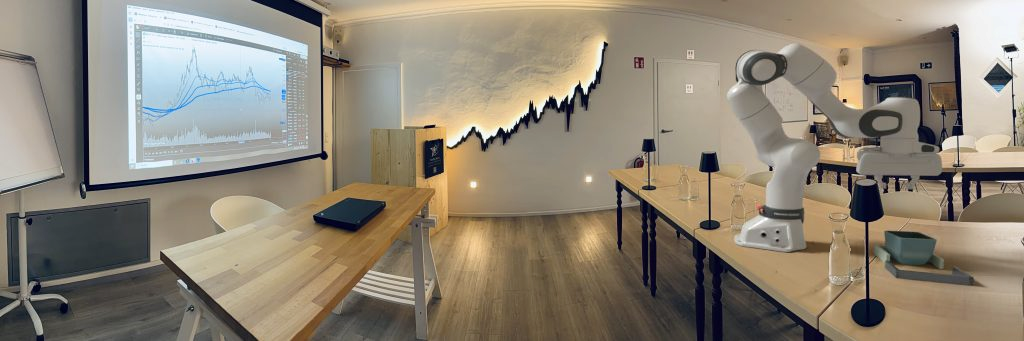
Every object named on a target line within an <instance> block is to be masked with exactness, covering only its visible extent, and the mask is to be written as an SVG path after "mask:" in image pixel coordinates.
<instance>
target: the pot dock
mask: <svg viewBox="0 0 1024 341" xmlns="http://www.w3.org/2000/svg"><path fill="white" fill-rule="evenodd" d="M884 269H885V270H887V271H888V273H890V274H891V275H892V276H893V277H895V278H896V279H904V280H911V281H912V280H913V281H921V282H922V281H923V282H931V283H939V284H940V283H941V284H950V285H951V284H952V285H961V286H962V285H963V286H969V287H970V286H972V287H973V286H974V277H973V276H972V275H970V274H968V273H967V272H966V271H964V270H962V269H961V268H959V267H958V266H952V270H951V274H950V273H949V274H948V273H938V272H928V271H927V272H926V271H917V270H906V269H899V268H898V267H897V266H895V265H894V264H893V263H892V262H891V260H890V261H885V263H884Z"/></svg>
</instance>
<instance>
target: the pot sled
mask: <svg viewBox="0 0 1024 341" xmlns="http://www.w3.org/2000/svg"><path fill="white" fill-rule="evenodd" d="M874 253H875V254H874ZM873 254H874V255H875V256H876V257H877V258H879V259H880V261H882V262H883V263H884V264H885V261H890V262H891V256H890V254H889V253H888V251H887V248H886V244H885V243H884V244H874V245H873ZM927 262H928V263H930V264H932V265H933V266H935V267H936V268H937V269H939V270H944V266H945V264H944V263H945V259H944V258H943V257H941V256H939V255H938V254H936V253H935V252H933V254H932V256H931V258H930V259H929V260H928V261H927Z"/></svg>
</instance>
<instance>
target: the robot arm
mask: <svg viewBox="0 0 1024 341" xmlns="http://www.w3.org/2000/svg"><path fill="white" fill-rule="evenodd" d="M837 75H838V74H837V70H835V68H834V67H833V66H832V64H831V63H829V61H828V60H826V59H824V58H823V57H822V56H821V55H820V54H818V53H817V52H815V51H814V50H812V49H811V48H809V47H807V46H805V45H803V44H801V43H797V42H796V43H795V42H794V43H791V44H787V45H786V46H783V47H782V48H780V50H779V51H777V52H776V53H775V52H770V51H766V50H761V49H752V50H748V51H746V52H744V53H743V54H741V55H740V56H739V57H738V58H737V60H736V62H735V82H737V83H735V84H734V85H733V86H731V87H730V88H729V90H728V91H727V93H726V99H727V102H728V104H729V106H730V108H731V110H732V113H734V116H736V118H737V120H738V121H739V122H740V123H741V125H742V126H743V128H744V129H745V130H746V131H747V133H748V134H749V137H750V138H751V140H752V142H753V145H754V147H755V156H756V158H757V160H759V161H760V162H761V163H763V164H764V165H766V166H769V167H773V168H774V170H773V174H772V177H771V179H770V180H768V182H767V184H766V186H765V204H764V205H762V204H757V205H756V208H757V210H758V215H755V217H752V218H751V219H749V220H748V221H746V222H744V223H743V225H742V227H741V231H740V233H738V234H735V235H734V238H733V241H734V242H735V244H736V245H738V246H740V247H747V248H753V249H762V250H769V251H776V252H783V253H791V252H794V251H800V250H805V249H807V248H808V245H807V243H806V239H805V234H804V225H803V224H804V223H805V222H804V221H805V207H803V206H804V204H803V203H804V189H805V184H806V180H807V178H808V176H809V173H810V172H811V171H812V169H813V168H814V167H816V166H817V164H818V163H819V161H820V159H821V151H820V148H819V146H817V144H815V143H813V142H812V141H809V140H806V139H803V138H794V137H793V138H792V137H789V136H788V135H786V133H785V130H784V128H783V121H784V120H783V116H781V115H780V113H779V111H777V109H776V107H775V106H774V105H773V103H772V101H771V100H769V98H768V96H767V95H766V94H765V92H764V91H763V86H765V85H768V84H770V83H772V82H774V81H775V80H777V79H779V78H783V79H785V80H786V81H787V82H788V83H790V84H791V85H792V86H793V87H794V88H795V89H797V90H798V91H799V92H800V93H802V94H803V95H804V96H805V97H806V98H807V100H808V101H810V102H809V103H811V104H812V105H813V106H814V107H815V108H816V109H817V110H818V111H819V112H820V113H821V114H822V115H824V116H825V117H826V119H827V120H828V122H829V123H830V125H831V128H832V130H833V132H834V133H835V134H836V135H838V136H839V137H841V138H846V139H850V138H851V139H853V138H854V139H856V138H860V139H866V138H867V139H876V138H880V143H879V144H880V145H879V146H878V147H877V146H872V147H863V148H860V149H858V150H857V152H856V159H857V163H856V170H855V171H856V173H858V174H859V175H861V176H874V178H875V180H876V181H877V183H878V188H879V189H883V190H885V189H887V183H886V182H883V180H882V179H883V176H910V178H911V180H910V181H909V182H906V183H905V189H907V190H914V189H915V184H916V183H917V182H918V181H919V180H920V176H923V177H925V176H926V177H927V176H930V177H931V176H933V177H935V176H936V177H938V176H939V175H940V174H942V173H943V172H942V171H943V163H942V161H943V160H942V156H941V155H940V154H938V153H939V152H940V147H939V146H937V145H935V144H929V143H927V142H921V141H919V136H920V135H919V133H918V128H919V127H920V122H921V108H920V104H919V101H918V100H917V99H916V98H914V97H909V96H908V97H907V96H890V97H887V98H885V100H883V101H881V102H880V103H877V104H875V105H874V106H871V107H868V108H852V107H849V106H848V105H846V104H845V103H843V101H841V99H839V98H838V96H836V95H835V94H834V93H833V91H832V89H831V88H832V87H833V86H834V84H835V83H836V81H837Z"/></svg>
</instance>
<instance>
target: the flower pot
mask: <svg viewBox="0 0 1024 341" xmlns="http://www.w3.org/2000/svg"><path fill="white" fill-rule="evenodd" d="M883 233H884V234H883V235H884V245H885V244H886V248H887V251H888V253H889V254H890V258H892V260H894V261H896V263H899V264H901V265H906V266H907V265H910V266H924V265H925V264H926V263H927V262H929V261H928V260H929V259H930V258H931V256H932V254H933V253H935V252H934V251H935V247H936V244H937V241H938V240H937V239H936V238H935V237H932V236H930V235H927V234H925V233H922V232H920V231H909V230H908V231H906V230H884V232H883Z"/></svg>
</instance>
